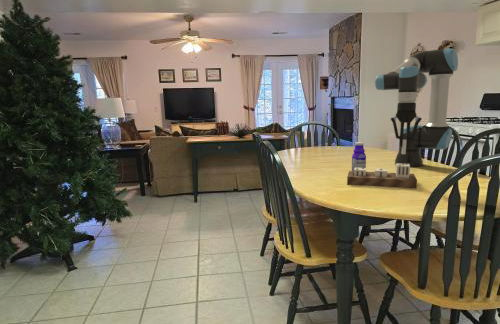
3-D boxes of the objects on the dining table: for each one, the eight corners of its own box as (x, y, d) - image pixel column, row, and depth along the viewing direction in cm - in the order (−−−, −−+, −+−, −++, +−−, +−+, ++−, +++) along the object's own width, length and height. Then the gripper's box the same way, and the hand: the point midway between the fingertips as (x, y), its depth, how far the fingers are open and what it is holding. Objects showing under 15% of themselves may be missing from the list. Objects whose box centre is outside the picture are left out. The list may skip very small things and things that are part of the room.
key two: (353, 181, 160) (354, 169, 159) (354, 179, 165) (354, 166, 164) (365, 182, 158) (365, 169, 157) (365, 179, 163) (366, 167, 162)
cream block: (374, 183, 157) (375, 170, 156) (374, 180, 162) (374, 167, 161) (386, 183, 155) (387, 170, 154) (386, 180, 160) (386, 168, 159)
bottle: (355, 176, 174) (356, 143, 170) (349, 174, 179) (350, 142, 176) (367, 175, 176) (368, 142, 172) (361, 172, 181) (362, 141, 178)
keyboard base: (347, 184, 158) (347, 176, 157) (348, 178, 170) (349, 170, 169) (416, 188, 148) (417, 180, 147) (413, 181, 160) (413, 173, 159)
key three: (396, 178, 153) (397, 165, 152) (395, 175, 158) (396, 162, 157) (409, 179, 151) (410, 165, 150) (408, 176, 156) (408, 163, 155)
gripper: (391, 102, 147) (388, 154, 151) (424, 101, 142) (420, 155, 147) (390, 102, 154) (387, 152, 158) (421, 101, 149) (418, 152, 154)
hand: (403, 153), depth 152 cm, fingers closed
